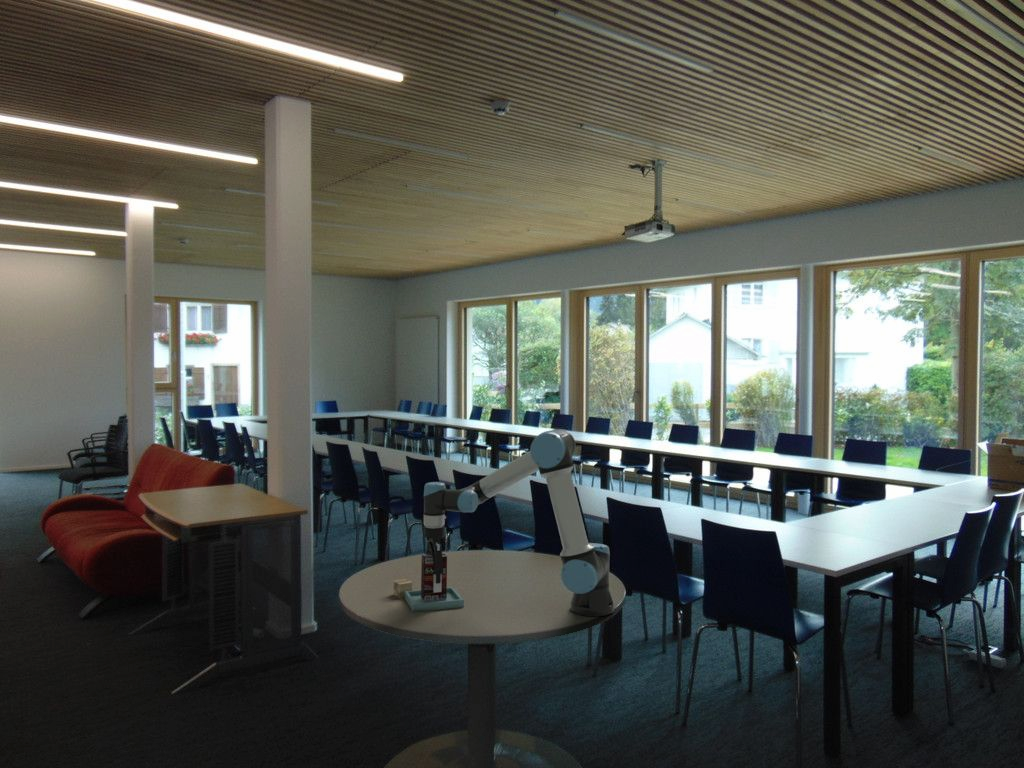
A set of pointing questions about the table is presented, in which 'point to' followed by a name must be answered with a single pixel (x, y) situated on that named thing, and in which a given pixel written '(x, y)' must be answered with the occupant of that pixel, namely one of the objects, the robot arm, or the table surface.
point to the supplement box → (432, 580)
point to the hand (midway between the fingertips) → (433, 587)
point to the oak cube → (402, 587)
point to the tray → (418, 604)
